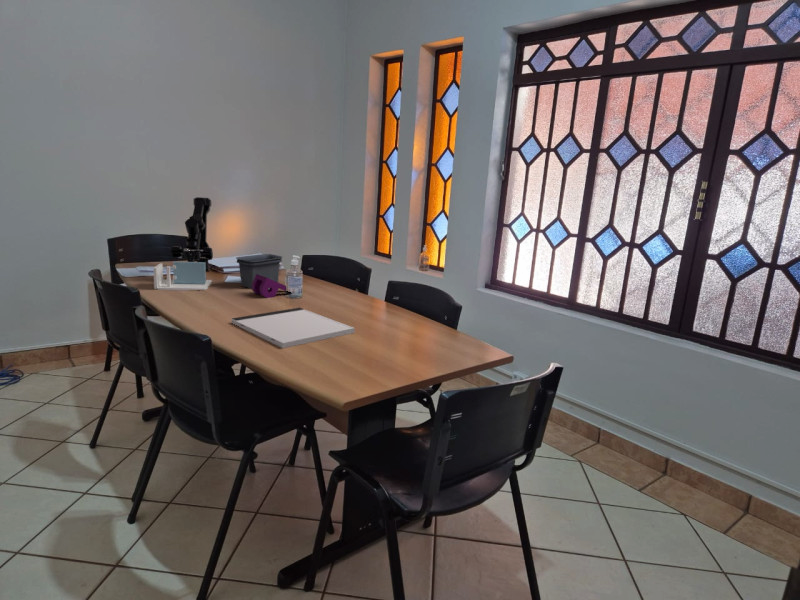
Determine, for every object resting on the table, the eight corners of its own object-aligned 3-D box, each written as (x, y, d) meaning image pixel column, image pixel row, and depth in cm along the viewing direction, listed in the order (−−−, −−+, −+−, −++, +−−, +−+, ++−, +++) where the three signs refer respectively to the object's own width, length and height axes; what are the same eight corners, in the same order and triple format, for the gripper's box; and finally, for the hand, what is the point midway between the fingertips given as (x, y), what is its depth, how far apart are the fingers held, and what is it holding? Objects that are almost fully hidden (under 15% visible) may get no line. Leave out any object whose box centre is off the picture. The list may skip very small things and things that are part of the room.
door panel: (174, 282, 252) (174, 261, 250) (205, 282, 255) (205, 262, 253) (173, 284, 248) (172, 263, 246) (204, 284, 251) (204, 263, 249)
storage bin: (250, 290, 251) (250, 261, 248) (230, 285, 260) (230, 256, 257) (285, 285, 268) (285, 257, 265) (265, 279, 277) (265, 252, 273)
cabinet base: (164, 281, 259) (163, 259, 256) (211, 282, 263) (211, 261, 261) (154, 289, 241) (153, 267, 238) (205, 290, 245) (205, 268, 243)
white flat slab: (231, 318, 199) (300, 307, 221) (231, 324, 200) (300, 312, 222) (283, 343, 176) (354, 328, 197) (283, 350, 176) (354, 334, 198)
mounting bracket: (279, 302, 256) (249, 290, 243) (286, 286, 257) (256, 273, 244) (290, 307, 250) (259, 294, 237) (297, 290, 251) (267, 277, 238)
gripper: (215, 251, 269) (212, 276, 261) (176, 249, 265) (172, 275, 257) (212, 237, 259) (209, 263, 251) (172, 235, 256) (167, 262, 248)
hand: (190, 266), depth 252 cm, fingers closed
